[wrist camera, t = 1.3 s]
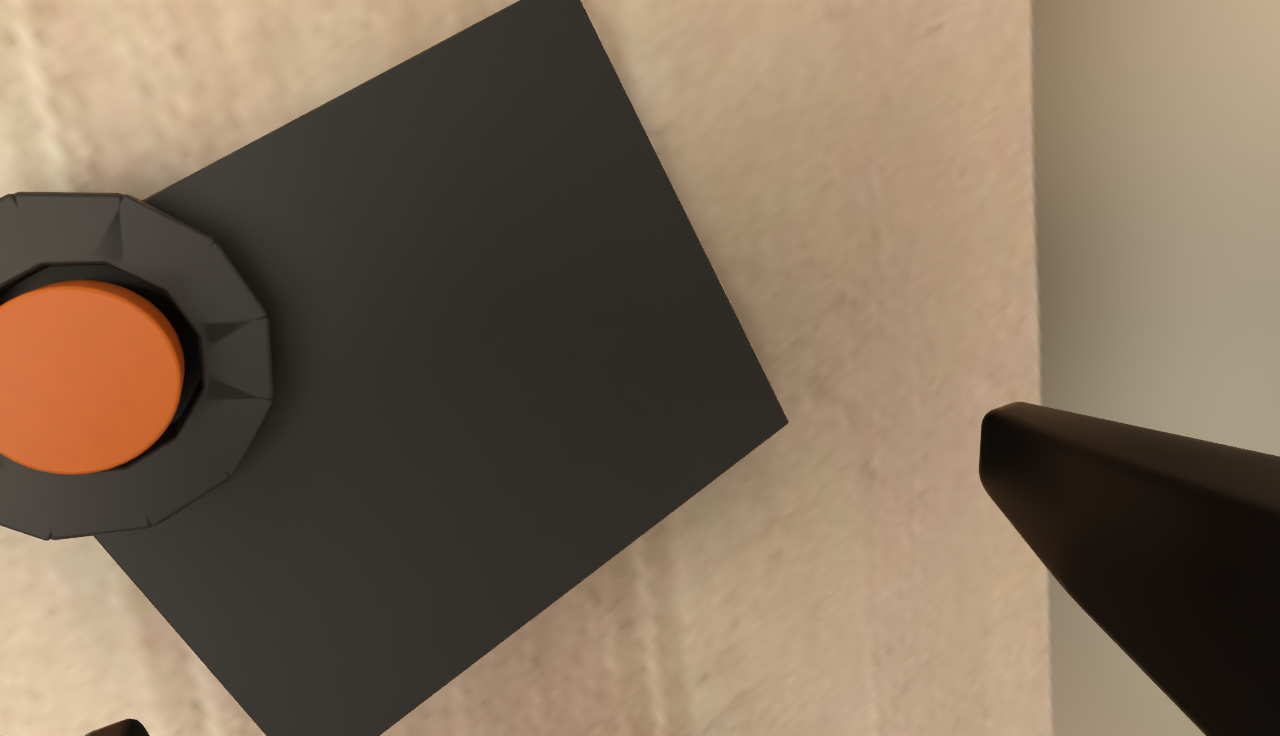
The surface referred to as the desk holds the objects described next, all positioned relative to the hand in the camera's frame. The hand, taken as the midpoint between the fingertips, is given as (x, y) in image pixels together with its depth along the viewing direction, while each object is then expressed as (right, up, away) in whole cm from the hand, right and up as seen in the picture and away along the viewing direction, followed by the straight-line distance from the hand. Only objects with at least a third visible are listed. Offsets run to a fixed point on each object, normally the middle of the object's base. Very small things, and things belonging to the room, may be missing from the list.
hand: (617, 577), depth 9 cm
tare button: (-9, +2, +7) cm, 12 cm away
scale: (-5, +2, +12) cm, 13 cm away
